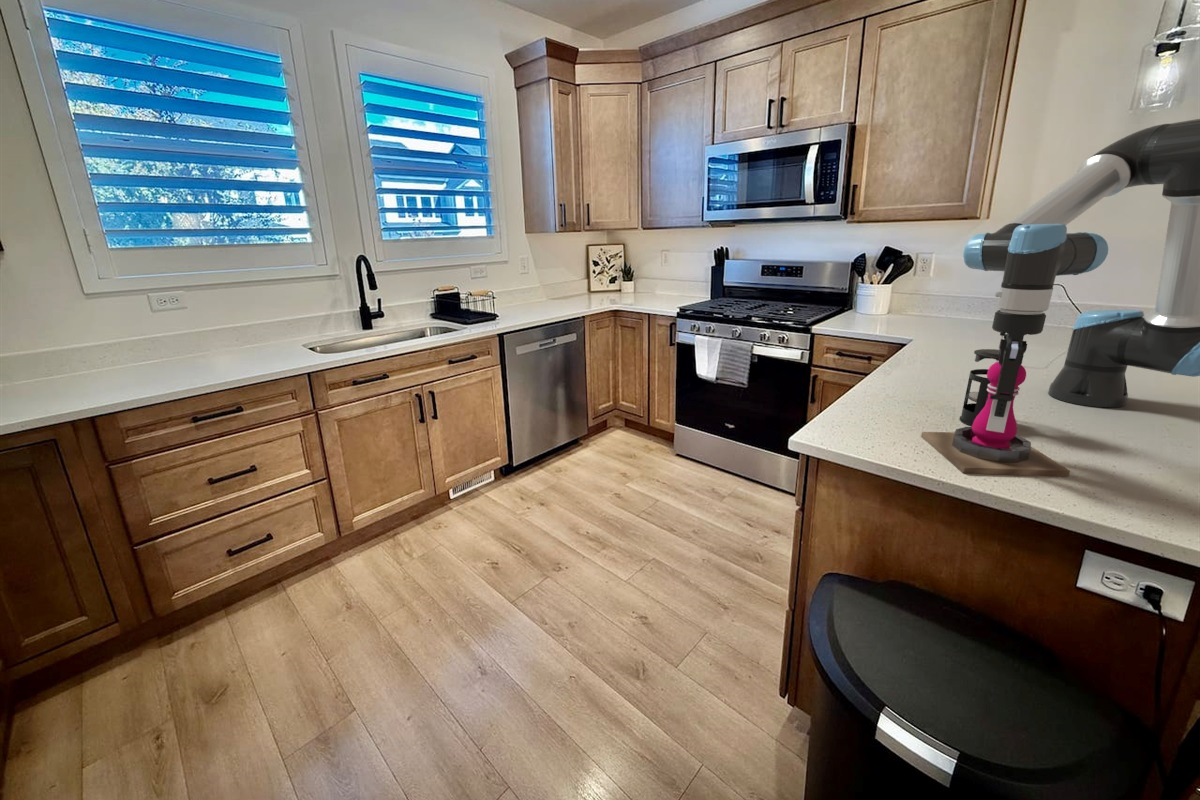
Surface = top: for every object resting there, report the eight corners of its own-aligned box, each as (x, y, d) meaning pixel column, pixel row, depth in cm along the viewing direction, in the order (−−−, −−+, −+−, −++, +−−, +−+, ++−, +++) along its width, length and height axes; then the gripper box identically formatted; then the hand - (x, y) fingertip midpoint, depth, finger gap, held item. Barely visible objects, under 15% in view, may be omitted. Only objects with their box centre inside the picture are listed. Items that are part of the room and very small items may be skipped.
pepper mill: (959, 443, 108) (978, 350, 101) (991, 440, 108) (1012, 348, 102) (986, 457, 101) (1009, 359, 95) (1021, 455, 101) (1045, 357, 95)
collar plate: (1009, 438, 112) (1010, 433, 112) (1068, 476, 95) (1070, 470, 95) (921, 436, 115) (922, 431, 114) (963, 473, 98) (964, 467, 97)
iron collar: (1004, 438, 109) (1007, 427, 109) (1043, 463, 98) (1046, 451, 97) (941, 436, 111) (943, 426, 110) (972, 461, 100) (974, 450, 99)
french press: (997, 434, 115) (1021, 333, 107) (951, 422, 122) (970, 327, 114) (1017, 421, 121) (1040, 325, 114) (971, 411, 128) (990, 320, 121)
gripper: (995, 302, 106) (974, 405, 113) (995, 318, 90) (970, 437, 97) (1042, 304, 101) (1017, 411, 109) (1051, 321, 85) (1020, 445, 93)
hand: (995, 423), depth 103 cm, fingers open, 8 cm apart
